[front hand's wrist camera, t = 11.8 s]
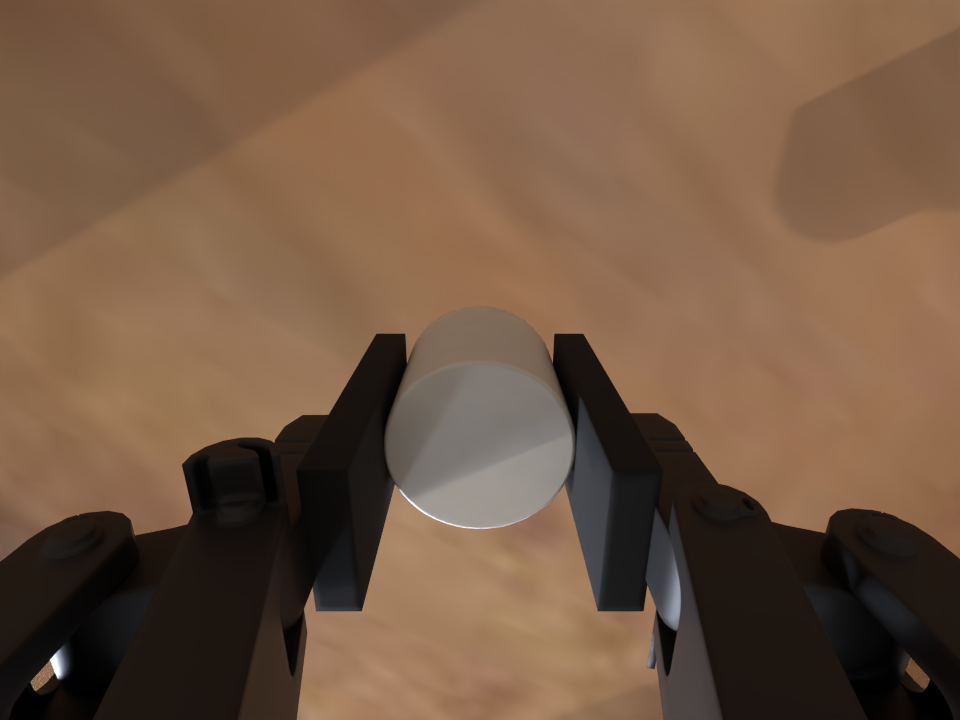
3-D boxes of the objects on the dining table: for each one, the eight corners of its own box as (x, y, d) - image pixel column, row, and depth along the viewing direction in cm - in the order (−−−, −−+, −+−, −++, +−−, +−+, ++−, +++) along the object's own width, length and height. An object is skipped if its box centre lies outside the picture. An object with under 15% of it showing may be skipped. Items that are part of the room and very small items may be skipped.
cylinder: (555, 305, 14) (583, 361, 10) (548, 438, 15) (571, 530, 11) (404, 305, 14) (376, 360, 10) (411, 438, 15) (388, 530, 11)
